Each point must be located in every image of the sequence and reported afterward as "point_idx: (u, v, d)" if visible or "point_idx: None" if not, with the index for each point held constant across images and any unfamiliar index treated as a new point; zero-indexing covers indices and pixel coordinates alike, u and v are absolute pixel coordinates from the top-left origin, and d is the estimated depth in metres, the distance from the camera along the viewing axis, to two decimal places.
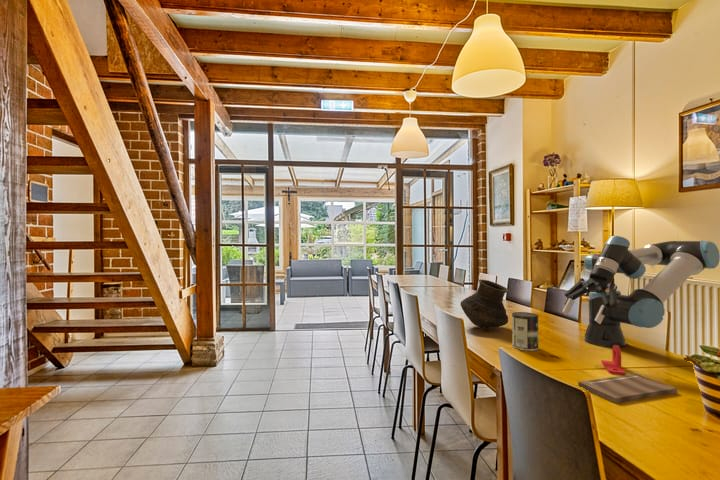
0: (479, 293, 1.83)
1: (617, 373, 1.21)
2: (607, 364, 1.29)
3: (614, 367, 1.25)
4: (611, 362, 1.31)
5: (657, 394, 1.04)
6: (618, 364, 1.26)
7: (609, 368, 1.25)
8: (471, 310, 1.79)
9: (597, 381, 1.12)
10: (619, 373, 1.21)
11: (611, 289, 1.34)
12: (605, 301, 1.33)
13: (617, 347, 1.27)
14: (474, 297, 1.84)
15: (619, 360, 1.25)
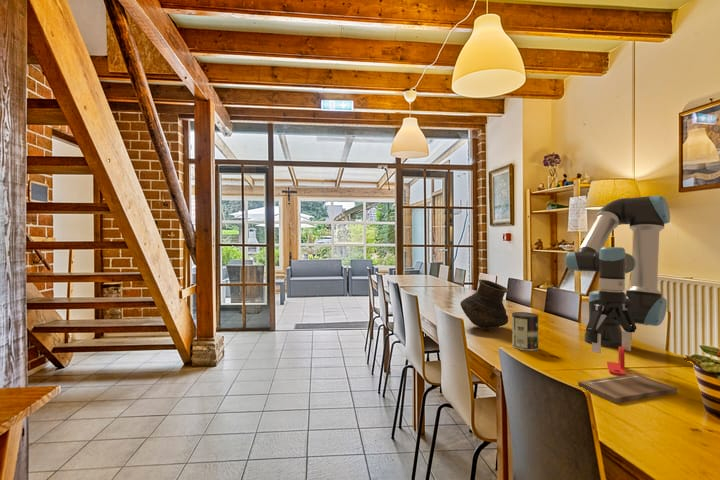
0: (479, 293, 1.83)
1: (618, 374, 1.21)
2: (611, 365, 1.28)
3: (617, 368, 1.25)
4: (616, 364, 1.29)
5: (657, 394, 1.04)
6: (621, 365, 1.25)
7: (611, 369, 1.24)
8: (471, 310, 1.79)
9: (597, 381, 1.12)
10: (620, 374, 1.20)
11: (629, 312, 1.28)
12: (629, 327, 1.27)
13: (621, 348, 1.26)
14: (474, 297, 1.84)
15: (622, 361, 1.24)
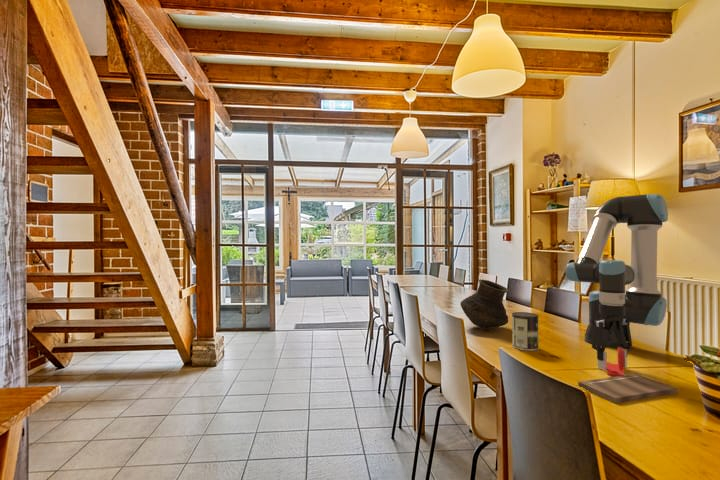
0: (479, 293, 1.83)
1: (616, 375, 1.19)
2: (609, 366, 1.26)
3: (615, 370, 1.23)
4: (615, 365, 1.28)
5: (657, 394, 1.04)
6: (619, 367, 1.23)
7: (609, 370, 1.22)
8: (471, 310, 1.79)
9: (597, 381, 1.12)
10: None
11: (628, 328, 1.28)
12: (626, 344, 1.27)
13: (620, 350, 1.24)
14: (474, 297, 1.84)
15: (621, 363, 1.23)
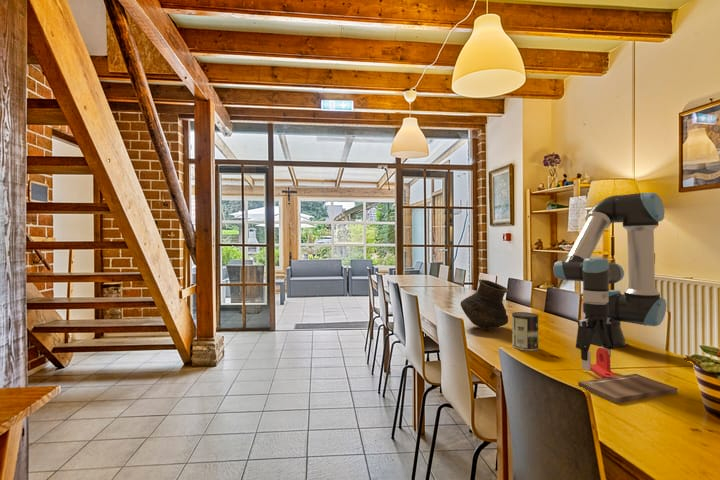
0: (479, 293, 1.83)
1: None
2: (595, 368, 1.24)
3: (604, 371, 1.21)
4: (596, 365, 1.27)
5: (657, 394, 1.04)
6: (607, 368, 1.21)
7: (601, 373, 1.19)
8: (471, 310, 1.79)
9: (597, 381, 1.12)
10: None
11: (612, 327, 1.25)
12: (609, 343, 1.25)
13: (605, 350, 1.23)
14: (474, 297, 1.84)
15: (608, 364, 1.21)
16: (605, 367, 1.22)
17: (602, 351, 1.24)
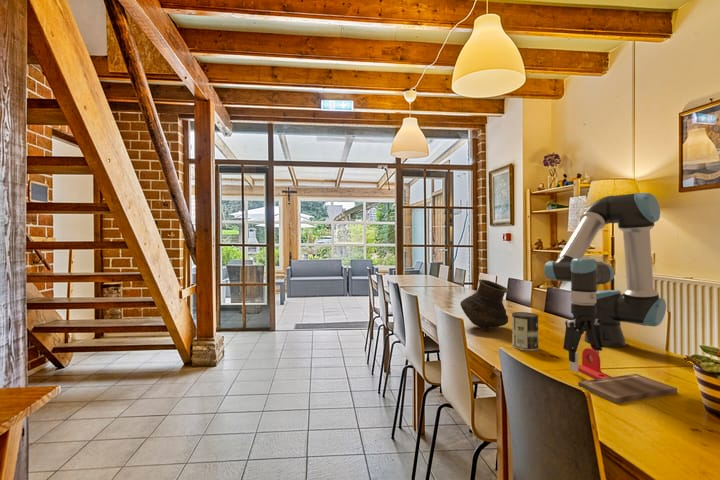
0: (479, 293, 1.83)
1: None
2: (586, 370, 1.22)
3: (596, 372, 1.20)
4: (584, 366, 1.26)
5: (657, 394, 1.04)
6: (597, 368, 1.21)
7: (595, 375, 1.18)
8: (471, 310, 1.79)
9: (597, 381, 1.12)
10: None
11: (600, 328, 1.24)
12: (597, 345, 1.24)
13: (594, 350, 1.23)
14: (474, 297, 1.84)
15: (599, 364, 1.21)
16: (595, 368, 1.22)
17: (591, 352, 1.23)
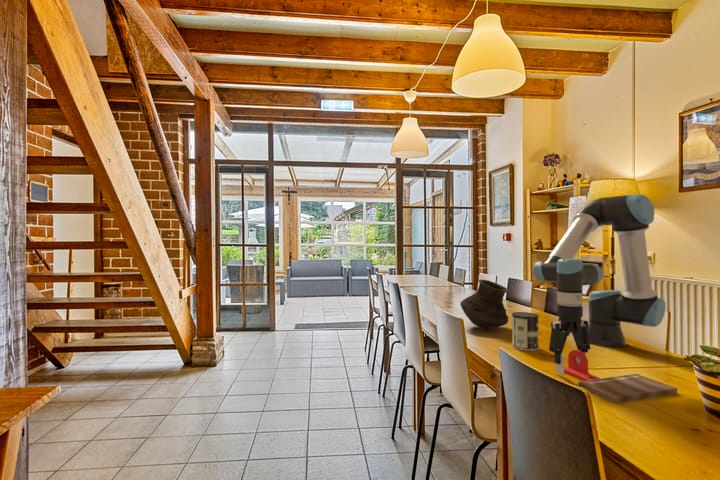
0: (479, 293, 1.83)
1: None
2: (574, 372, 1.20)
3: (584, 375, 1.18)
4: (570, 368, 1.24)
5: (657, 394, 1.04)
6: (585, 370, 1.19)
7: (585, 377, 1.16)
8: (471, 310, 1.79)
9: (597, 381, 1.12)
10: None
11: (587, 330, 1.22)
12: (583, 346, 1.22)
13: (581, 352, 1.21)
14: (474, 297, 1.84)
15: (586, 366, 1.19)
16: (583, 370, 1.20)
17: (578, 353, 1.22)
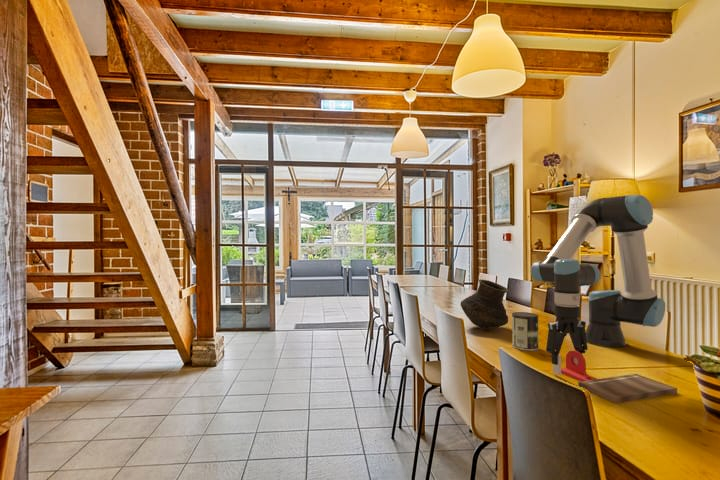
0: (479, 293, 1.83)
1: None
2: (571, 373, 1.20)
3: (582, 375, 1.18)
4: (568, 369, 1.23)
5: (657, 394, 1.04)
6: (583, 371, 1.19)
7: (583, 378, 1.15)
8: (471, 310, 1.79)
9: (597, 381, 1.12)
10: None
11: (584, 330, 1.22)
12: (581, 347, 1.22)
13: (579, 353, 1.21)
14: (474, 297, 1.84)
15: (584, 367, 1.19)
16: (581, 370, 1.19)
17: (576, 354, 1.21)
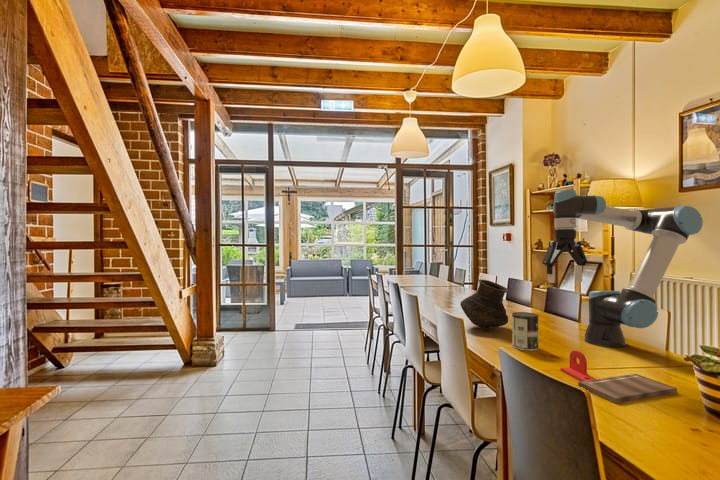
0: (479, 293, 1.83)
1: None
2: (572, 372, 1.21)
3: (582, 375, 1.18)
4: (571, 369, 1.24)
5: (657, 394, 1.04)
6: (584, 371, 1.19)
7: (581, 377, 1.16)
8: (471, 310, 1.79)
9: (597, 381, 1.12)
10: None
11: (581, 248, 1.45)
12: (581, 261, 1.45)
13: (580, 353, 1.21)
14: (474, 297, 1.84)
15: (585, 367, 1.19)
16: (582, 370, 1.20)
17: (578, 354, 1.21)
